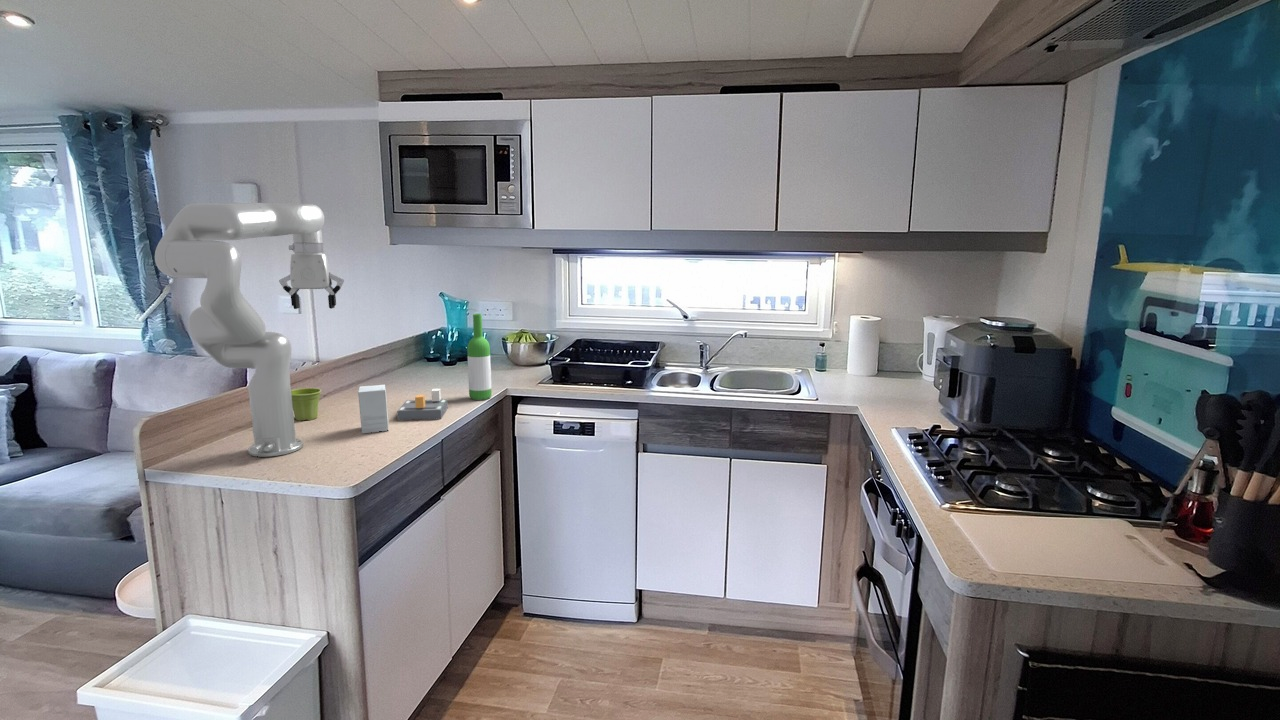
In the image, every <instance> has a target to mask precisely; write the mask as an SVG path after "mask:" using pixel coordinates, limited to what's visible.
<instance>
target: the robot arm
mask: <svg viewBox="0 0 1280 720" xmlns="http://www.w3.org/2000/svg"><path fill="white" fill-rule="evenodd" d="M325 219H326V218H325V214H324V212H323V210H322V209H321V207H320V206H318V205H316V204H314V203H273V202H272V203H270V202H240V203H239V202H238V203H237V202H236V203H235V202H234V203H190V204H187V205H185V206H184V207H182V209H180V211H178V212H177V214H176V215H175V216H174V218H173V219H172V220H171V222H170V223H169V225H168V227H167V229H166V231H165V232H164V234H163V235H162V237H161V238H160V240H159V241H158V244H157V246H156V247H155V252H154V262H155V265H156V267H157V269H158V270H159V272H161V273H162V274H163V275H165V276H168V277H171V278H176V279H177V278H178V279H207V280H206V283H205V287H204V289H203V291H202V293H201V296H200V298H199V299H200V300H199V301H200V306H199V307H197V308H195V309H194V310H193V311H192V312H191V313H190V315H189V317H188V322H187V324H188V330H189V333H190V336H191V338H192V339H193V341H195V343H196V344H197V345H198V346H199V347H200V348H201V349H202V350H204V351H205V353H207V354H208V356H210V357H211V358H212V359H213V360H214V361H215V362H217V364H219V365H220V366H222V367H225V368H229V369H251V370H252V369H254V370H255V372H254V374H253V376H252V377H251V378H250V381H249V382H248V386H247V387H248V399H249V408H250V416H251V424H252V433H253V442H254V444H251V446H249V447H248V450H247V453H248V455H250V456H252V457H257V456H258V457H259V458H262V457H263V458H264V457H265V458H266V457H267V458H269V457H278V456H284V455H287V454H291V453H294V452H296V451H298V450H300V449H302V448H303V446H304V443H303V442H304V441H303V440H301V439H299V438H296V436H297V435H296V427H295V419H294V418H295V415H294V411H293V406H292V395H291V390H292V389H291V375H290V374H291V373H290V369H291V358H292V345H291V342H290V340H289V338H287V336H285V335H284V334H282V333H278V332H275V331H267V329H266V324H265V321H264V320H263V319H262V317H261V315H260V314H259V313H258V312H257V310H255V308H254V307H253V306H252V304H250V303H249V301H248V300H247V299H246V298H245V296H244V295H243V294H242V293H241V287H240V284H241V283H240V280H241V273H242V272H241V271H242V258H241V257H242V256H241V254H240V252H239V250H238V249H237V248H236V246H234V245H233V244H231V243H229V242H225V241H241V240H247V239H248V240H249V239H257V238H267V237H268V238H269V237H270V238H271V237H278V236H280V237H281V236H287V235H292V241H293V243H292V244H291V245H290V244H289V245H288V250H289V251H293V253H292V254H290V262H289V263H290V264H289V265H290V266H289V269H290V271H289V273H290V274H289V275H286V276H284V277H282V278H281V279H279V280H278V282H279V284H280V285H281V287H282V288H283V290H284V291H286V293H287V294H288V295H289V296H290V300H291V301H290V302H291V306H292V307H293V309H294V310H298V309H299V308H300V307H301V304H300V303H301V302H300V298H299V297H300V294H298V292H299V291H300V290H317V289H318V290H326V292H327V293H328V295H327V298H328V299H327V302H328V308H329V309H330V310H331V309H334V308H335V306H336V305H337V297H336V294H338V292H339V291H340V290H341V289H342V286H343V285H344V282H345V280H344V279H343V278H341V277H338V276H337V275H335V274H332V273H331V267H330V262H329V259H328V256H327V254H326V253H324V252H325V251H324V244H323V243H324V241H323V233H322V229H323V227H324V224H325ZM289 281H290V286H289V285H288V282H289ZM333 281H335V282H336V285H335V286H334V287H333V286H332V285H333Z"/></svg>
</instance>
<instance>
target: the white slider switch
mask: <svg viewBox="0 0 1280 720" xmlns="http://www.w3.org/2000/svg"><path fill="white" fill-rule="evenodd" d="M431 400H432V401H440V400H442V391H441V388H432V389H431Z"/></svg>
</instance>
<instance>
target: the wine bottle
mask: <svg viewBox="0 0 1280 720" xmlns="http://www.w3.org/2000/svg"><path fill="white" fill-rule="evenodd" d="M482 316H483V315H482V313H473V314H472V319H473V320H472V322H473V323H472V325H473V337H472V338H471V339H470V340H469V341H468V344H467V346H466V347H467V374H468V375H467V377H468V395H469V398H470V399H471V400H474V401H483V400H488V399H490V398H491V397H492V367H491V346H490V342H489V341H488V340H487V338H485V337H484V336H483V334H484V333H483V317H482Z"/></svg>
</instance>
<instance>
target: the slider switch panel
mask: <svg viewBox="0 0 1280 720" xmlns="http://www.w3.org/2000/svg"><path fill="white" fill-rule="evenodd" d="M448 408H449V407H448V398H447V399H441V400H440V401H432V399H425V407H424V408H416V406H415V399H409V400H408V399H407V400H405V401H404V403H403V404H402V405H401V406H399V408H398V410H397V411H396V412H397V413H396V414H397V421H412V420H411V419H429V420H442V418H443V417H444V415H445V414H446V412H447V410H448Z"/></svg>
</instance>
